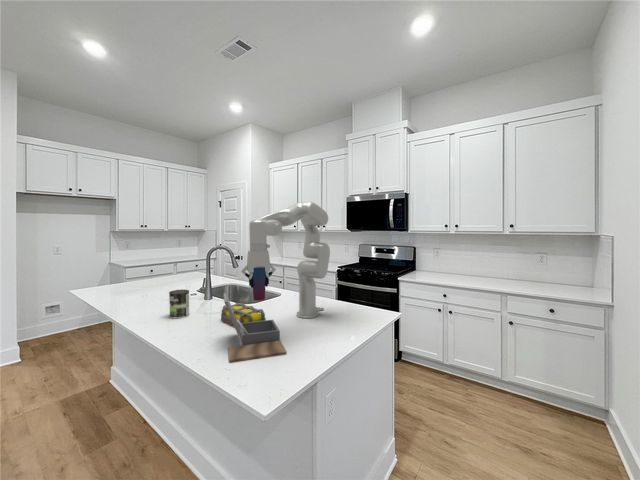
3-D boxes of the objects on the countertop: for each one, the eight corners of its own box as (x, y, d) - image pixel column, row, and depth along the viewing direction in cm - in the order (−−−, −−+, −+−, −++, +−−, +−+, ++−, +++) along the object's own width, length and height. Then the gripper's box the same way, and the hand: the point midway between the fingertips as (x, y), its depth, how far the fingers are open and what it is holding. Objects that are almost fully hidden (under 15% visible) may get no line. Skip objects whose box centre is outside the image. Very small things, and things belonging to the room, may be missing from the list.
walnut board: (280, 342, 127) (280, 340, 127) (286, 354, 116) (286, 351, 115) (227, 349, 119) (227, 347, 119) (229, 362, 108) (229, 360, 108)
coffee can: (179, 319, 157) (178, 294, 156) (165, 317, 161) (164, 292, 160) (193, 314, 167) (193, 290, 166) (180, 312, 170) (180, 288, 170)
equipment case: (272, 329, 143) (272, 305, 142) (279, 341, 128) (279, 315, 127) (234, 334, 136) (234, 309, 136) (236, 347, 121) (236, 319, 121)
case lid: (225, 292, 134) (223, 293, 134) (227, 301, 119) (224, 302, 119) (238, 322, 137) (235, 324, 137) (241, 335, 122) (238, 336, 122)
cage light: (239, 300, 168) (271, 310, 148) (239, 313, 169) (271, 325, 149) (215, 305, 158) (247, 317, 137) (216, 319, 158) (247, 333, 138)
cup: (252, 297, 135) (252, 265, 134) (267, 297, 136) (266, 265, 135) (250, 301, 128) (249, 268, 127) (266, 300, 129) (265, 267, 128)
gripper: (275, 246, 137) (276, 283, 138) (238, 247, 131) (238, 286, 132) (278, 247, 130) (279, 287, 131) (239, 249, 124) (240, 290, 125)
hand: (259, 286), depth 132 cm, fingers closed on cup, 6 cm apart
